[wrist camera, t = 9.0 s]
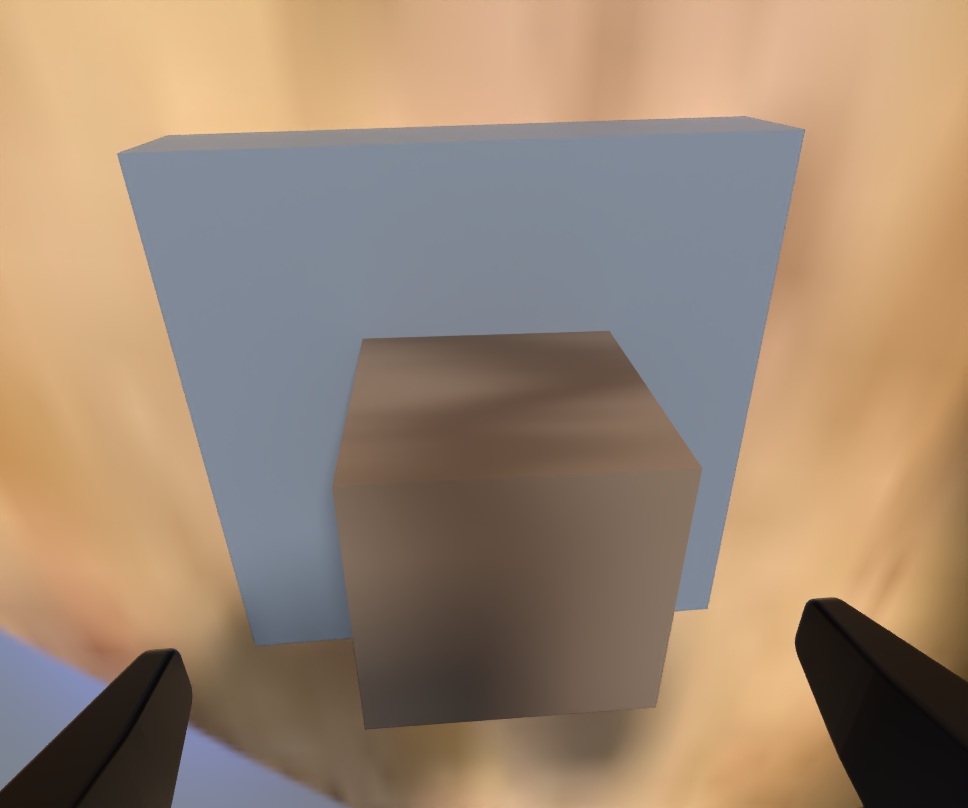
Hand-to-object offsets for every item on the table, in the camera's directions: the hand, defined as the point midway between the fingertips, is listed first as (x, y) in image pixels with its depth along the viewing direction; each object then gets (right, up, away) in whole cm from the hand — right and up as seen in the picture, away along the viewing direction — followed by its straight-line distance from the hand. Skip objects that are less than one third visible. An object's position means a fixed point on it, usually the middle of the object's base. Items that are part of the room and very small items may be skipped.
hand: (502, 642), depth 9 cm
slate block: (-1, +4, +8) cm, 9 cm away
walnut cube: (0, +3, +5) cm, 6 cm away
